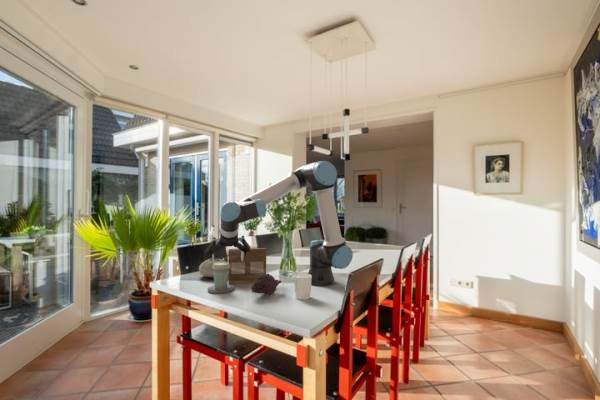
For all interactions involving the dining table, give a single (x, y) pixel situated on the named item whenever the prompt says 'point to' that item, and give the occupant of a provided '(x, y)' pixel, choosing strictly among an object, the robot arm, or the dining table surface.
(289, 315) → the dining table surface
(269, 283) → the pine cone
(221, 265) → the coffee cup
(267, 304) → the dining table surface
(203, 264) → the beige rounded lump
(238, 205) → the robot arm
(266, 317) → the dining table surface
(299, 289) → the white cup
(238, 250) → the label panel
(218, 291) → the rubber mat
